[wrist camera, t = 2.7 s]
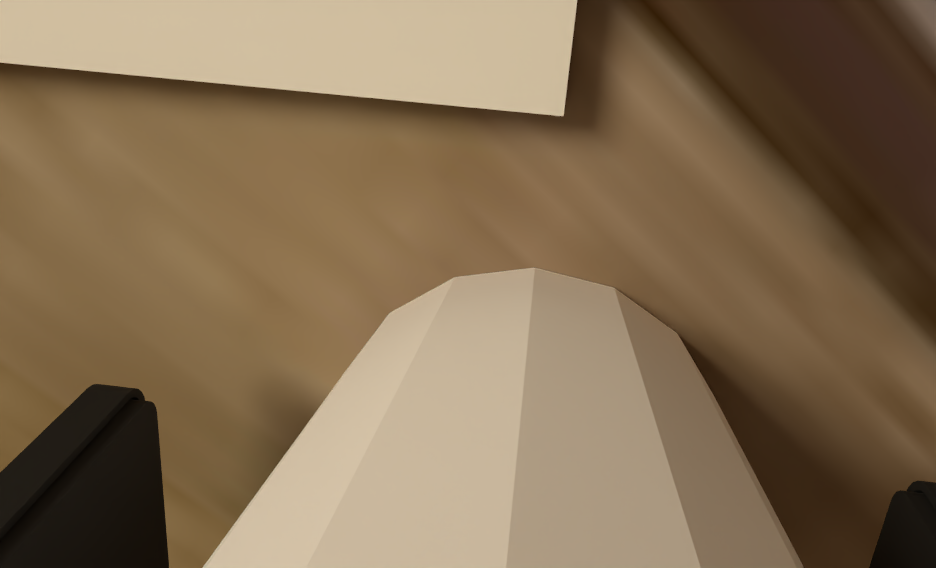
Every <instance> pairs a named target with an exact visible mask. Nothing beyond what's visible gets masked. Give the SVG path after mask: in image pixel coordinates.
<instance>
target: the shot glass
mask: <svg viewBox="0 0 936 568" xmlns="http://www.w3.org/2000/svg"><path fill="white" fill-rule="evenodd" d="M203 568H804V567H803V565H802V563H801V561H800V559H799V557H798V555H797V553H796V551H795V549H794V548H793V546H792V544H791V542H790V540H789V538H788V536H787V534H786V532H785V530H784V529H783V527H782V525H781V523H780V521H779V519H778V517H777V515H776V513H775V511H774V509H773V508H772V506H771V504H770V502H769V500H768V498H767V496H766V494H765V492H764V490H763V488H762V487H761V485H760V483H759V481H758V479H757V477H756V475H755V473H754V471H753V469H752V468H751V466H750V464H749V462H748V460H747V458H746V456H745V454H744V452H743V450H742V448H741V447H740V445H739V443H738V441H737V439H736V437H735V435H734V433H733V431H732V429H731V427H730V426H729V424H728V422H727V420H726V418H725V416H724V414H723V412H722V410H721V408H720V407H719V405H718V403H717V401H716V399H715V397H714V395H713V393H712V392H711V390H710V388H709V387H708V385H707V383H706V381H705V380H704V378H703V376H702V375H701V373H700V371H699V369H698V368H697V366H696V364H695V363H694V361H693V359H692V357H691V356H690V354H689V352H688V351H687V349H686V347H685V346H684V344H683V342H682V340H681V339H680V337H679V335H678V334H677V333H676V332H675V331H673V330H672V329H671V328H669V327H668V326H667V325H665V324H664V323H662V322H661V321H660V320H658V319H657V318H655V317H654V316H653V315H651V314H650V313H649V312H647V311H646V310H644V309H643V308H642V307H640V306H639V305H637V304H636V303H635V302H633V301H632V300H631V299H629V298H628V297H626V296H625V295H624V294H622V293H621V292H619V291H618V290H617V289H615V288H614V287H610V286H606V285H602V284H598V283H594V282H590V281H586V280H582V279H578V278H574V277H570V276H566V275H562V274H558V273H554V272H550V271H546V270H542V269H538V268H527V269H519V270H510V271H502V272H494V273H485V274H477V275H468V276H460V277H454V278H452V279H451V280H449V281H447V282H445V283H443V284H441V285H440V286H438V287H436V288H434V289H432V290H431V291H429V292H427V293H425V294H423V295H421V296H420V297H418V298H416V299H414V300H412V301H410V302H409V303H407V304H405V305H403V306H401V307H399V308H398V309H396V310H394V311H392V312H390V313H389V314H388V316H387V317H386V318H385V320H384V321H383V322H382V324H381V325H380V326H379V328H378V329H377V330H376V331H375V333H374V334H373V335H372V337H371V338H370V339H369V341H368V342H367V343H366V345H365V346H364V347H363V349H362V350H361V351H360V353H359V354H358V355H357V357H356V358H355V359H354V361H353V362H352V363H351V365H350V366H349V367H348V369H347V370H346V371H345V373H344V374H343V375H342V377H341V378H340V380H339V381H338V382H337V384H336V385H335V386H334V388H333V389H332V391H331V392H330V393H329V395H328V396H327V397H326V399H325V400H324V402H323V403H322V404H321V406H320V407H319V408H318V410H317V411H316V413H315V414H314V415H313V417H312V418H311V419H310V421H309V422H308V424H307V425H306V426H305V428H304V429H303V430H302V432H301V433H300V435H299V436H298V437H297V439H296V440H295V441H294V443H293V444H292V446H291V447H290V448H289V450H288V451H287V452H286V454H285V455H284V456H283V458H282V459H281V461H280V462H279V463H278V465H277V466H276V467H275V469H274V470H273V472H272V473H271V474H270V476H269V477H268V478H267V480H266V481H265V483H264V484H263V485H262V487H261V488H260V489H259V491H258V492H257V494H256V495H255V496H254V498H253V499H252V500H251V502H250V503H249V505H248V506H247V507H246V509H245V510H244V511H243V513H242V514H241V516H240V517H239V518H238V520H237V521H236V522H235V524H234V525H233V527H232V528H231V529H230V531H229V532H228V533H227V535H226V536H225V538H224V539H223V540H222V542H221V543H220V544H219V546H218V547H217V549H216V550H215V551H214V553H213V554H212V555H211V557H210V558H209V560H208V561H207V562H206V564H205V565H204V566H203Z"/></svg>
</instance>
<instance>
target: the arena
mask: <svg viewBox="0 0 936 568" xmlns="http://www.w3.org/2000/svg"><path fill="white" fill-rule="evenodd" d="M576 7H577V0H0V63H10V64H21V65H31V66H42V67H52V68H63V69H73V70H84V71H94V72H105V73H115V74H126V75H136V76H147V77H157V78H168V79H178V80H188V81H199V82H209V83H220V84H230V85H241V86H251V87H262V88H272V89H283V90H293V91H304V92H314V93H325V94H335V95H346V96H356V97H367V98H377V99H388V100H398V101H409V102H419V103H429V104H440V105H450V106H461V107H471V108H482V109H492V110H503V111H513V112H524V113H534V114H545V115H555V116H564V108H565V100H566V91H567V83H568V75H569V66H570V58H571V49H572V41H573V32H574V24H575V16H576Z"/></svg>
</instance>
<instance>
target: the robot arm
mask: <svg viewBox="0 0 936 568" xmlns="http://www.w3.org/2000/svg"><path fill="white" fill-rule="evenodd" d="M0 568H169V560H168V548H167V535H166V522H165V509H164V497H163V484H162V471H161V458H160V446H159V433H158V420H157V411H156V407H155V405H154V403H152V402H150V401H145V398H144V395H143V393H142V391H140V390H139V389H135V388H126V387H118V386H110V385H101V384H94V385H92V386H90V387H89V388H87V389H86V390H85V391H84V392H83V393H82V394H81V395H80V396H79V397H78V398H77V399H76V400H75V401H74V402H73V403H72V404H71V405H70V406H69V407H68V408H67V409H66V410H65V411H64V412H63V413H62V414H61V415H60V416H58V417H57V418H56V419H55V420H54V421H53V422H52V423H51V424H50V425H49V426H48V427H47V428H46V429H45V430H44V431H43V432H42V433H41V434H40V435H39V436H38V437H37V438H36V439H35V440H34V441H33V442H32V443H30V444H29V445H28V446H27V447H26V448H25V449H24V450H23V451H22V452H21V453H20V454H19V455H18V456H17V457H16V458H15V459H14V460H13V461H12V462H11V463H10V464H9V465H8V466H7V467H6V468H5V469H4V470H3V471H1V472H0ZM869 568H936V483H933V482H925V481H916V482H913V483H912V484H911V485H910V486H909V487H908V489H907V491H898V492H896V493H895V494H894V496H893V498H892V500H891V502H890V506H889V509H888V512H887V515H886V518H885V521H884V524H883V527H882V530H881V533H880V536H879V539H878V542H877V545H876V548H875V552H874V555H873V558H872V561H871V564H870V567H869Z"/></svg>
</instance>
